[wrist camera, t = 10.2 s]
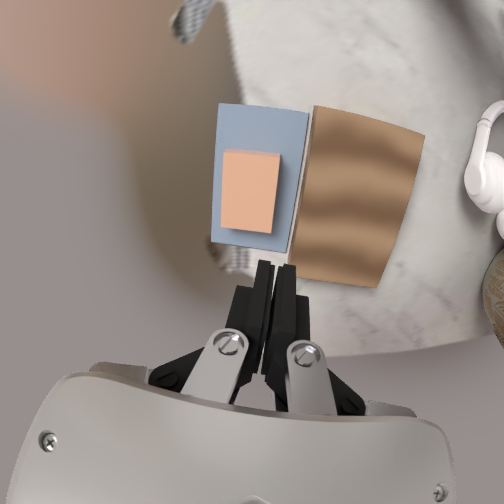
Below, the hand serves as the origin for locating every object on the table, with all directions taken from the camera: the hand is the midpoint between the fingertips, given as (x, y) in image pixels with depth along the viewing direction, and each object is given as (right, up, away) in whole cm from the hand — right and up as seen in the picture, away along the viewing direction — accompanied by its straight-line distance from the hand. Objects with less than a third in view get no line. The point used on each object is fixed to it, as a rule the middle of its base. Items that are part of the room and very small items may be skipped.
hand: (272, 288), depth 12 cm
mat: (0, +10, +19) cm, 22 cm away
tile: (-1, +9, +19) cm, 21 cm away
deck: (+11, +8, +19) cm, 23 cm away
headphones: (+37, +15, +12) cm, 41 cm away
